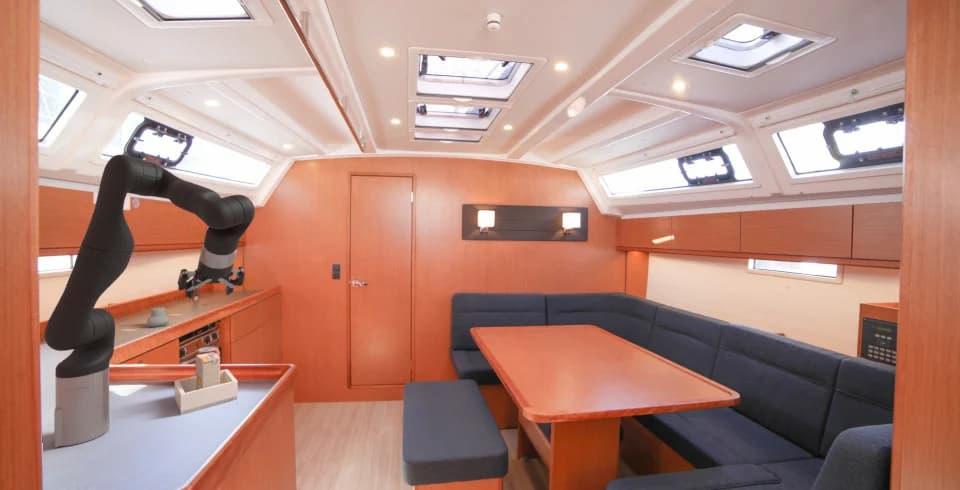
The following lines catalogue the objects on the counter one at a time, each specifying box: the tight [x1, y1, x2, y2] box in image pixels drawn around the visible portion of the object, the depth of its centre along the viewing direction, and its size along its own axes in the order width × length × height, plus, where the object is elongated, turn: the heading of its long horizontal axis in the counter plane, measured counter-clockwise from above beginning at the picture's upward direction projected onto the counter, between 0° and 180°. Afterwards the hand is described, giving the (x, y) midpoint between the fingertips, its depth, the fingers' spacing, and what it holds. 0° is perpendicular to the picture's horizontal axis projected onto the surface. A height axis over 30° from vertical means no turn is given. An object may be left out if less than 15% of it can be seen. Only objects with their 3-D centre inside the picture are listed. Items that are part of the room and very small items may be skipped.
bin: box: [174, 368, 239, 416], centre depth 111 cm, size 14×14×6 cm
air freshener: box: [147, 306, 170, 328], centre depth 194 cm, size 11×8×10 cm
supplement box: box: [195, 352, 221, 390], centre depth 111 cm, size 8×5×13 cm, turn 51°
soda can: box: [195, 345, 221, 376], centre depth 124 cm, size 7×7×12 cm
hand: (209, 294), depth 98 cm, fingers open, 8 cm apart
